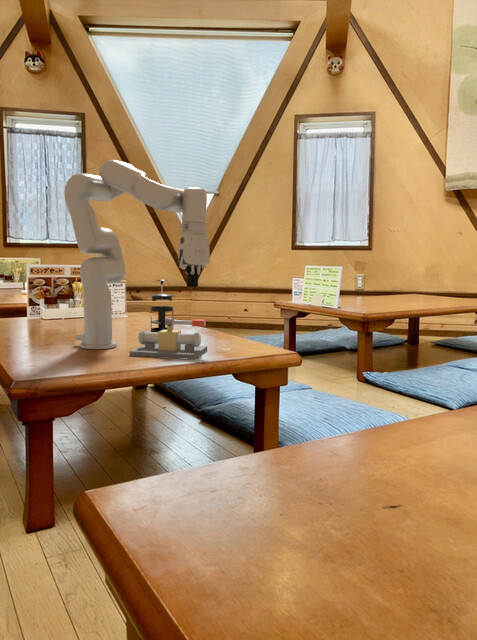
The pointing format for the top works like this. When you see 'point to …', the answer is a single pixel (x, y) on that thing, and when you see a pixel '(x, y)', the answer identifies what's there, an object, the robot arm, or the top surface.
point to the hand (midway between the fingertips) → (192, 286)
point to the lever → (186, 322)
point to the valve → (169, 344)
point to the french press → (161, 310)
